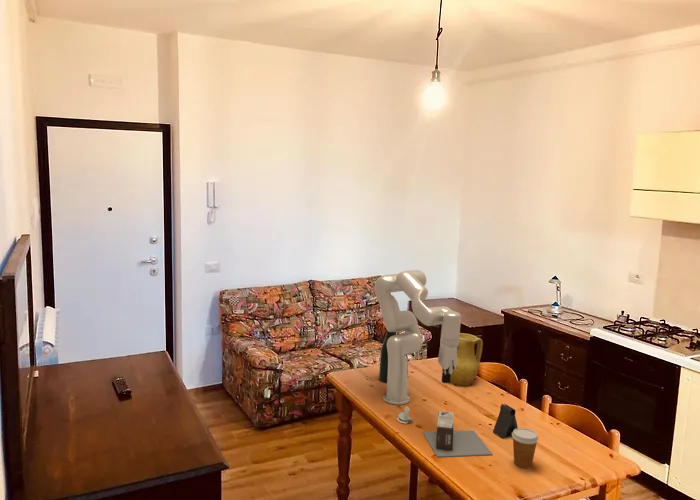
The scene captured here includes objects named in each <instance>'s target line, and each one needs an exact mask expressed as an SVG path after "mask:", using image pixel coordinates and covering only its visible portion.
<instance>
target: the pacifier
mask: <svg viewBox="0 0 700 500" xmlns="http://www.w3.org/2000/svg"><path fill="white" fill-rule="evenodd" d="M409 413H410V407H409V406H405V407H404V409H403V412H399V413H398V417H397V418H396V421H397V422H398V423H401V424H404V425H406V424H409V421H413V420H414V418H413V417H409Z"/></svg>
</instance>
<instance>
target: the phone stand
mask: <svg viewBox="0 0 700 500" xmlns="http://www.w3.org/2000/svg"><path fill="white" fill-rule="evenodd" d="M499 409H500V411H499V413H498V417H497V419H496V422H495V424H494V427H493V430H492V433H494V434H495V435H496V436H498V437H500V438H501V439H507V438H513V437H512V433H513V431H514V430H515V429H517V428H519V427H518V422H517V418H516V409H514V408H513V407H511V406H510V405H507V404H506V403H501V405H500V407H499Z"/></svg>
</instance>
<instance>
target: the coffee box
mask: <svg viewBox="0 0 700 500" xmlns="http://www.w3.org/2000/svg"><path fill="white" fill-rule="evenodd" d="M454 415H455V414H454V412H453V411H446V410H438V414H437V425H436V432H437V438H436V449H442V450H450V451H452V450H453V431H454Z"/></svg>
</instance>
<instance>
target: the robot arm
mask: <svg viewBox="0 0 700 500" xmlns="http://www.w3.org/2000/svg"><path fill="white" fill-rule="evenodd" d="M426 285H427V276H426V275H425V273H424V272H423V271H421V270H420V269H414V270H404V271H401V272H399V273H393V274H384V275H380V276H379V277H378V278H376V280H375V281H374V293H375V296H376V299H377V301H378V304H379V306H380V310H381V315H382V318H383V324H384V327H385V329H386V331H387V330H388V331H389V332H395V333H398V334H396V335H394V336H391V337H390V338H389V339H388V341H387V351H388V377H387V383H386V393H385V394H383V396H382V397H383V398H382V400H383V401H384V402H386V403H388V404H392V405H397V406H398V405H399V406H400V405H406V404H408V403H410V400H411V398H410V396H409V395H408V377H409V362H408V360H407V358H406V355H408V354H414V353H417V352H420V351H421V349H422V347H423V339H422V334H421V331H420V327H419V324H418V321H419V322H421V324H423V325H425V326H426V327H427V326H428V327H431V326H437V325H441V330H440V342H439V343H440V344H439V345H440V346H439V351H438V358H437V362H438V364H439V366H441V367H442V370H441V371H442V372H441V382H442V384H450V377H451V373H453V370H454V369H455V368H456V359H457V346H458V345H459V334H460V333H461V323H462V321H461V320H462V314H461V313H460V312H458V311H455V310H453V309H452V308H450V307H448V306H446V305H445V306H443V305H442V306H433V307H432V306H431V307H427V306H426V305H425V304H424V303H423V302H424V301H426V299H427V298H428V294H429V290H428V288H427V287H426ZM400 292H403V293H404V294H405V295H406V297H408V298H409V299H410V300H411V309H412V311H410V310H401V309H400V307H399V302H398V300H397V299H396V297H395V296H394V295H393V294H391V293H400ZM399 332H404V333H400V334H399Z"/></svg>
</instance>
